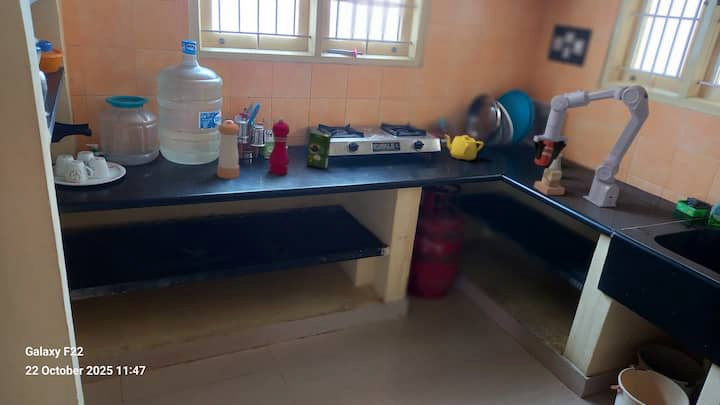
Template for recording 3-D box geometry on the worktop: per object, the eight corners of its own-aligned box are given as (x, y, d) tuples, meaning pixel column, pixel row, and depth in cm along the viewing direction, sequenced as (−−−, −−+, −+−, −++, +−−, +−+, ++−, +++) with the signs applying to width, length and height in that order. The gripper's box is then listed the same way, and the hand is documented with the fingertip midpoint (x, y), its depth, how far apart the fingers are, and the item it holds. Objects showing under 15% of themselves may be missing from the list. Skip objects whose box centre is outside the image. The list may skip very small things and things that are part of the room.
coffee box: (328, 167, 198) (331, 134, 193) (325, 169, 196) (328, 136, 190) (309, 163, 200) (312, 130, 195) (306, 165, 198) (308, 132, 193)
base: (563, 194, 200) (565, 188, 199) (546, 195, 198) (548, 188, 197) (550, 186, 207) (552, 181, 206) (533, 187, 204) (535, 181, 203)
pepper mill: (264, 171, 186) (266, 117, 178) (276, 167, 192) (279, 114, 184) (280, 176, 183) (283, 121, 175) (292, 172, 189) (296, 118, 181)
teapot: (462, 164, 222) (466, 141, 218) (440, 155, 231) (444, 132, 227) (481, 160, 231) (486, 138, 227) (459, 151, 239) (464, 130, 235)
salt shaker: (238, 171, 183) (239, 118, 176) (240, 178, 177) (241, 124, 170) (216, 171, 181) (217, 117, 173) (218, 178, 175) (218, 123, 167)
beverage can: (546, 163, 238) (552, 138, 234) (549, 167, 232) (556, 141, 228) (532, 161, 239) (539, 136, 234) (535, 165, 233) (542, 140, 228)
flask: (562, 180, 217) (569, 157, 213) (545, 177, 218) (551, 155, 214) (560, 175, 224) (566, 153, 220) (543, 172, 225) (549, 150, 221)
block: (558, 186, 200) (562, 172, 198) (548, 186, 199) (552, 172, 197) (550, 182, 204) (554, 168, 202) (541, 182, 203) (545, 168, 200)
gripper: (562, 123, 206) (554, 155, 212) (532, 122, 202) (524, 155, 207) (574, 128, 200) (565, 161, 205) (543, 127, 195) (535, 161, 201)
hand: (545, 159), depth 206 cm, fingers open, 7 cm apart
